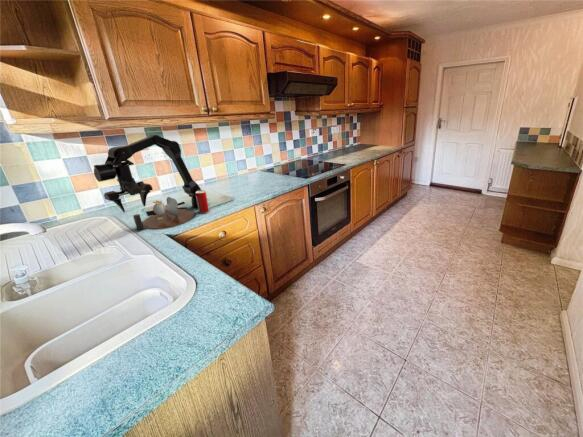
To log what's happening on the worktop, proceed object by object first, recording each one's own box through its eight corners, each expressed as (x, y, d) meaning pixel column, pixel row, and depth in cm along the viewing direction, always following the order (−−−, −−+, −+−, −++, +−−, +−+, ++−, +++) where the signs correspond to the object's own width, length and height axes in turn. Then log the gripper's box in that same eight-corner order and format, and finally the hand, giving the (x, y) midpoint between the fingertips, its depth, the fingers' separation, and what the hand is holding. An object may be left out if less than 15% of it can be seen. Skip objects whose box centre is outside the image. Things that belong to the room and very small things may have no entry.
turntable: (178, 207, 153) (175, 195, 150) (203, 215, 139) (201, 202, 136) (126, 225, 132) (121, 211, 129) (150, 236, 117) (145, 221, 115)
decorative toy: (182, 204, 147) (142, 207, 135) (185, 192, 140) (143, 194, 128) (188, 220, 142) (146, 224, 130) (191, 208, 135) (147, 212, 123)
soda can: (211, 211, 144) (207, 190, 139) (202, 214, 140) (198, 193, 136) (205, 209, 147) (202, 189, 143) (197, 212, 144) (192, 191, 139)
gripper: (108, 183, 104) (120, 219, 110) (154, 173, 118) (162, 205, 124) (98, 180, 111) (110, 214, 117) (142, 171, 124) (151, 202, 130)
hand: (134, 209), depth 122 cm, fingers open, 9 cm apart
